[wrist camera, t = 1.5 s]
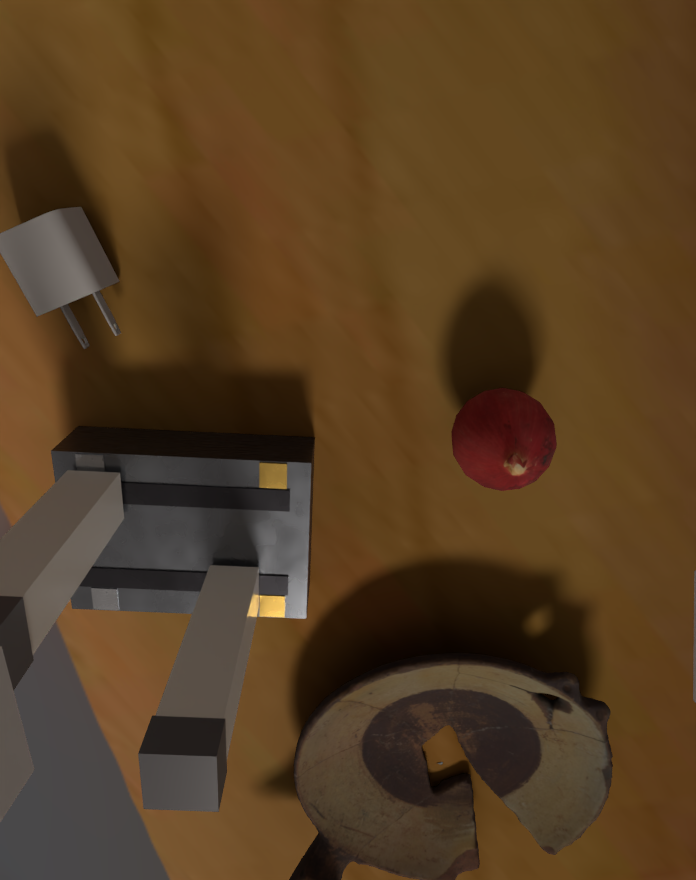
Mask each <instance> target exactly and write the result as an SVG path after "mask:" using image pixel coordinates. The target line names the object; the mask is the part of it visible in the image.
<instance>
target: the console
mask: <svg viewBox="0 0 696 880" xmlns="http://www.w3.org/2000/svg"><path fill="white" fill-rule="evenodd" d="M314 445H315V437H294V436H273V435H252V434H231V433H211V432H190V431H169V430H148V429H128V428H107V427H86V426H78V427H77V428H76V429H75V430H74V431H72V432H71V433H70V434H69V435H68V436H67V437H66V438H65V439H64V440H62V441H61V442H60V443H59V444H58V445H57V446H56V447H55V448H54V449H53V450H51V454H52V462H53V469H54V476H55V483H56V482H57V481H58V480H59V479H60V478H61V477H62V476H63V474H64V473H65V472H66V471H67V470H74V471H96V472H117V473H120V478H121V489H122V500H123V511H124V519H123V521H122V522H121V524H120V525H119V527H118V528H117V530H116V531H115V533H114V534H113V536H112V537H111V539H110V540H109V542H108V543H107V545H106V546H105V548H104V549H103V551H102V552H101V554H100V555H99V557H98V558H97V560H96V561H95V563H94V564H93V566H92V567H91V569H90V570H89V572H88V573H87V575H86V576H85V578H84V579H83V581H82V582H81V584H80V585H79V587H78V588H77V590H76V591H75V593H74V594H73V596H72V597H71V603H72V609H94V610H117V611H141V612H164V613H187V614H192V613H193V610H194V608H195V605H196V602H197V599H198V597H199V594H200V591H201V588H202V586H203V583H204V580H205V577H206V575H207V572H208V569H209V566H210V565H218V566H240V567H259V609H258V614H257V617H281V618H304V619H306V616H307V606H308V596H309V585H310V562H311V533H312V504H313V474H314Z"/></svg>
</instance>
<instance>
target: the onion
mask: <svg viewBox="0 0 696 880" xmlns="http://www.w3.org/2000/svg"><path fill="white" fill-rule="evenodd" d="M556 444H557V443H556V436H555V428H554V423H553V421H552V419H551V418H550V416H549V415H548V413H547V412H546V410H545V409H544V408H543V406H542V405H541V403H540V402H538V401H537V400H535V399H534V398H532V397H530V396H529V395H527V394H526V393H524V392H521V391H517V390H512V389H507V388H498V389H493V390H487V391H483V392H482V393H480V394H478V395H477V396H475V397H473V398H472V399H470V400H468V401H467V402H466V404H465V405H464V406H463V408H462V409H461V410H460V411H459V413H458V414H457V415H456V419H455V422H454V425H453V429H452V445H453V455H454V457H455V458H456V460H457V462H458V463H459V465H460V467H461V468H462V470H463V471H464V473H465V475H467V476H468V477H470V478H471V479H473V480H474V481H476V482H478V483H479V484H481V485H482V486H484V487H487V488H491V489H496V490H500V491H504V490H512V489H520V488H522V487H524V486H526V485H529V484H531V483H533V482H535V481H536V480H537V479H538V478H539V477H540V476H541V475H542V474H543V472H544V471H545V470H546V469H547V468H548V467H549V465H550V463H551V460H552V457H553V455H554V452H555V449H556Z"/></svg>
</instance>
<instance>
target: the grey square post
mask: <svg viewBox="0 0 696 880" xmlns="http://www.w3.org/2000/svg"><path fill="white" fill-rule="evenodd" d="M123 519H124V511H123V500H122V489H121V478H120V473H117V472H96V471H74V470H67V471H66V472H65V473H64V474H63V476H62V477H61V478H60V479H59V480H58V481H57V482H56V483H55V484H54V485H53V486H52V487H51V488H50V489H49V490H48V491H47V492H46V493H45V494H44V495H43V496H42V497H41V498H40V499H39V500H38V501H37V502H36V503H35V504H34V505H33V506H32V507H31V508H30V509H29V510H28V511H27V512H26V513H25V514H24V516H23V517H22V518H21V519H20V520H19V521H18V522H17V523H16V524H15V525H14V526H13V527H12V528H11V529H10V530H9V531H8V532H7V533H6V534H5V535H4V536H3V537H2V538H1V539H0V646H2V649H3V653H4V657H5V661H6V664H7V668H8V672H9V676H10V680H11V683H12V687H13V691H14V689H15V688H16V686H17V684H18V683H19V681H20V680H21V678H22V677H23V675H24V674H25V672H26V671H27V669H28V668H29V666H30V665H31V663H32V662H33V654H34V653H35V651H36V650H37V648H38V646H39V645H40V644H41V642H42V641H43V639H44V638H45V636H46V635H47V633H48V632H49V630H50V629H51V627H52V626H53V624H54V623H55V621H56V620H57V618H58V617H59V615H60V614H61V612H62V611H63V609H64V608H65V606H66V605H67V603H68V602H69V600H70V599H71V597H72V596H73V594H74V593H75V591H76V590H77V588H78V587H79V585H80V584H81V582H82V581H83V579H84V578H85V576H86V575H87V573H88V572H89V570H90V569H91V567H92V566H93V564H94V563H95V561H96V560H97V558H98V557H99V555H100V554H101V552H102V551H103V549H104V548H105V546H106V545H107V543H108V542H109V540H110V539H111V537H112V536H113V534H114V533H115V531H116V530H117V528H118V527H119V525H120V524H121V522H122V521H123Z"/></svg>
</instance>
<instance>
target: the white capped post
mask: <svg viewBox="0 0 696 880" xmlns="http://www.w3.org/2000/svg"><path fill="white" fill-rule="evenodd" d="M258 609H259V567H240V566H218V565H210V566H209V569H208V572H207V575H206V577H205V580H204V583H203V586H202V588H201V591H200V594H199V597H198V599H197V602H196V605H195V608H194V610H193V613H192V616H191V619H190V622H189V624H188V627H187V630H186V633H185V635H184V638H183V641H182V644H181V646H180V649H179V652H178V655H177V657H176V660H175V663H174V666H173V668H172V671H171V674H170V677H169V680H168V682H167V685H166V688H165V691H164V693H163V696H162V699H161V702H160V704H159V707H158V710H157V713H156V715H155V716H152V718H151V721H150V723H149V726H148V729H147V731H146V734H145V737H144V740H143V742H142V745H141V748H140V750H139V753H138V755H139V766H140V776H141V786H142V796H143V807H144V809H158V810H185V811H212V812H219V807H220V803H221V798H222V793H223V788H224V783H225V778H226V773H227V756H228V752H229V747H230V742H231V737H232V733H233V728H234V723H235V718H236V714H237V709H238V704H239V699H240V695H241V690H242V685H243V681H244V676H245V671H246V666H247V662H248V657H249V652H250V647H251V643H252V638H253V633H254V628H255V624H256V619H257V614H258Z"/></svg>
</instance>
